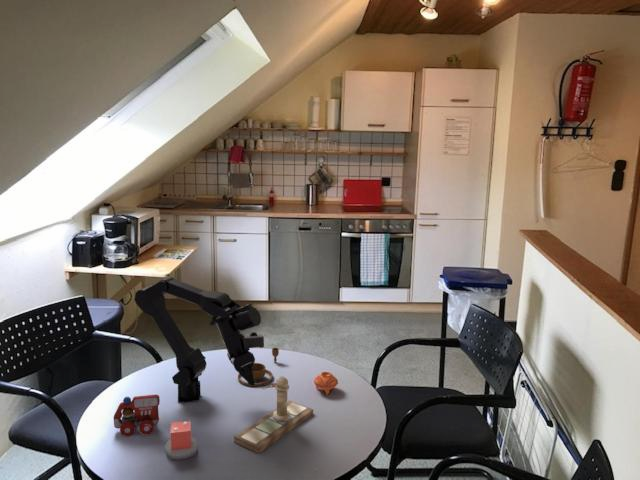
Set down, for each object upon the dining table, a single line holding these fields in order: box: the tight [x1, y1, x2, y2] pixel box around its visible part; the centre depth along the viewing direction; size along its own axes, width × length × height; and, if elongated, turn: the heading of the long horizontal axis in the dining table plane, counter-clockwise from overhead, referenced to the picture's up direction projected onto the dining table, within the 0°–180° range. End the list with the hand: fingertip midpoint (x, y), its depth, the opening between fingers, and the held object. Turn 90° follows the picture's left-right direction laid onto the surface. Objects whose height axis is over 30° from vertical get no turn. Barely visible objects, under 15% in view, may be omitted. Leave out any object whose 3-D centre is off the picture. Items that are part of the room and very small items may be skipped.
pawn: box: [273, 376, 290, 422], centre depth 158 cm, size 5×5×13 cm
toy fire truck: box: [113, 394, 161, 437], centre depth 153 cm, size 7×12×10 cm, turn 101°
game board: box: [233, 400, 314, 454], centre depth 157 cm, size 25×9×2 cm, turn 146°
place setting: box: [237, 347, 280, 390], centre depth 188 cm, size 18×20×6 cm
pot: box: [313, 371, 339, 396], centre depth 178 cm, size 8×8×7 cm
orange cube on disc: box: [165, 420, 198, 461], centre depth 144 cm, size 8×8×8 cm
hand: (250, 382), depth 163 cm, fingers open, 9 cm apart
